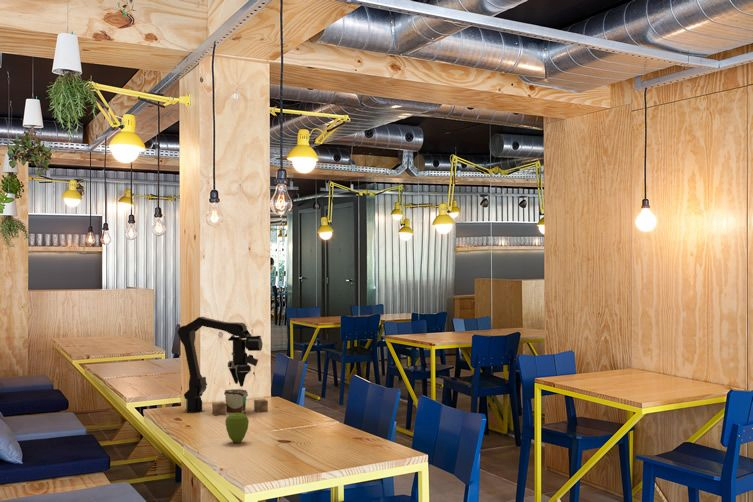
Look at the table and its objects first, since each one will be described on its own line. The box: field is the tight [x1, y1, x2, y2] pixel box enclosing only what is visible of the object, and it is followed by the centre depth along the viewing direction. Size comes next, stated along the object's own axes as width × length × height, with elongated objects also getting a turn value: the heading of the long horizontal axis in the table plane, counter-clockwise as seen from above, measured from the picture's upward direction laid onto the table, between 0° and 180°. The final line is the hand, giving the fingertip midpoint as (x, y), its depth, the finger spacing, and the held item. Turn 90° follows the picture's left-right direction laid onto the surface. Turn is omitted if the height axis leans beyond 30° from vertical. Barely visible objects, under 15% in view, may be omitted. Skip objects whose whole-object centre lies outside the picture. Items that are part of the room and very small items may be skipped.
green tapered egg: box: [224, 412, 250, 444], centre depth 268 cm, size 9×8×12 cm
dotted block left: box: [211, 401, 227, 417], centre depth 321 cm, size 5×5×5 cm
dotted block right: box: [253, 398, 269, 413], centre depth 328 cm, size 5×5×5 cm
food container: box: [224, 388, 249, 415], centre depth 325 cm, size 12×6×10 cm, turn 58°
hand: (239, 385), depth 325 cm, fingers open, 9 cm apart
